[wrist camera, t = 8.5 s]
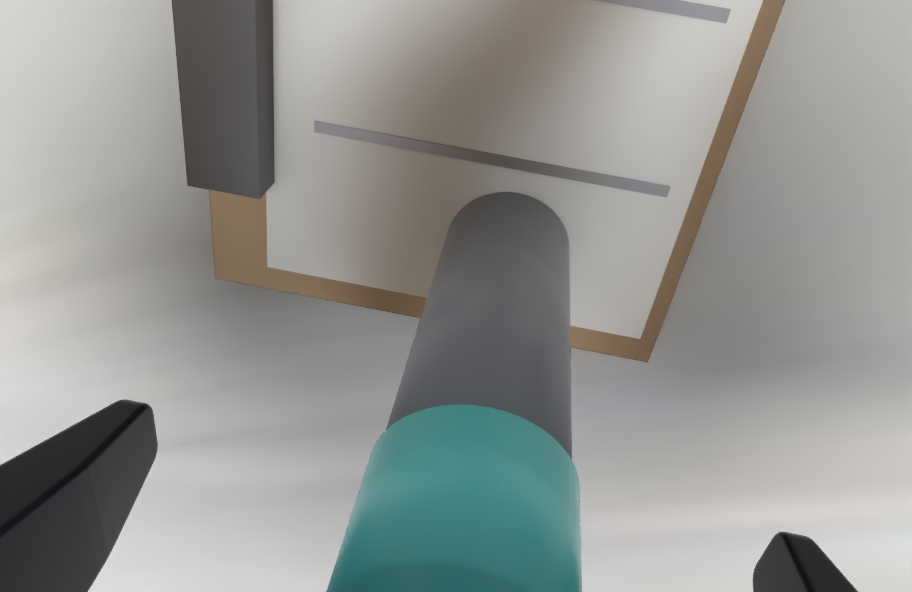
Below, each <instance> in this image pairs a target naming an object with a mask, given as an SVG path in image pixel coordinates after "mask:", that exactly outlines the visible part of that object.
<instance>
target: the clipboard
mask: <svg viewBox="0 0 912 592" xmlns="http://www.w3.org/2000/svg"><path fill="white" fill-rule="evenodd" d="M784 2H785V0H172V9H173V21H174V32H175V44H176V56H177V67H178V79H179V90H180V102H181V114H182V125H183V137H184V148H185V160H186V172H187V183H188V186H193V187H198V188H203V189H209V191H210V205H211V220H212V235H213V250H214V265H215V278H218V279H223V280H228V281H233V282H238V283H243V284H248V285H254V286H259V287H264V288H269V289H274V290H279V291H284V292H289V293H295V294H300V295H305V296H310V297H315V298H320V299H325V300H331V301H336V302H341V303H346V304H351V305H356V306H361V307H366V308H372V309H377V310H382V311H387V312H392V313H397V314H402V315H408V316H413V317H418V318H421V316H422V313H423V310H424V306H425V303H426V300H427V297H428V293H429V290H430V287H431V284H432V281H433V277H434V274H435V271H436V268H437V265H438V261H439V258H440V255H441V252H442V248H443V245H444V242H445V239H446V236H447V232H448V229H449V227H450V224H451V222H452V221H453V219H454V217H455V216H456V215H457V213H458V212H459V211H460V210H461V209H462V208H463V207H464V206H465V205H467V204H468V203H469V202H471V201H473V200H475V199H476V198H479V197H481V196H484V195H487V194H491V193H497V192H515V193H521V194H525V195H528V196H531V197H533V198H536V199H537V200H539V201H541V202H543V203H544V204H546V205H547V206H548V207H550V208H551V209H552V210H553V211H554V212H555V213H556V215H557V216H558V217H559V218H560V220H561V221H562V223H563V225H564V227H565V229H566V231H567V235H568V239H569V263H570V347H572V348H577V349H582V350H587V351H592V352H598V353H603V354H608V355H613V356H618V357H623V358H628V359H633V360H639V361H644V362H648V360H649V358H650V355H651V352H652V350H653V347H654V345H655V342H656V339H657V337H658V334H659V331H660V329H661V326H662V324H663V321H664V318H665V316H666V313H667V310H668V308H669V305H670V302H671V300H672V297H673V295H674V292H675V289H676V287H677V284H678V281H679V279H680V276H681V273H682V271H683V268H684V266H685V263H686V260H687V258H688V255H689V252H690V250H691V247H692V245H693V242H694V239H695V237H696V234H697V231H698V229H699V226H700V223H701V221H702V218H703V216H704V213H705V210H706V208H707V205H708V202H709V200H710V197H711V194H712V192H713V189H714V187H715V184H716V181H717V179H718V176H719V173H720V171H721V168H722V165H723V163H724V160H725V158H726V155H727V152H728V150H729V147H730V144H731V142H732V139H733V137H734V134H735V131H736V129H737V126H738V123H739V121H740V118H741V115H742V113H743V110H744V108H745V105H746V102H747V100H748V97H749V94H750V92H751V89H752V86H753V84H754V81H755V79H756V76H757V73H758V71H759V68H760V65H761V63H762V60H763V58H764V55H765V52H766V50H767V47H768V44H769V42H770V39H771V36H772V34H773V31H774V29H775V26H776V23H777V21H778V18H779V15H780V13H781V10H782V7H783V5H784Z"/></svg>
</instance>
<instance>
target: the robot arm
mask: <svg viewBox="0 0 912 592" xmlns="http://www.w3.org/2000/svg"><path fill="white" fill-rule="evenodd" d="M157 447H158V444H157V436H156V429H155V422H154V415H153V410H152V408H151V407H150V406H149V405H148V404H146V403H141V402H136V401H131V400H120V401H117V402H115V403H113V404H111V405H109V406H107V407H106V408H104V409H102V410H100V411H98V412H96V413H95V414H93V415H91V416H89V417H87V418H86V419H84V420H82V421H80V422H78V423H76V424H75V425H73V426H71V427H69V428H67V429H65V430H64V431H62V432H60V433H58V434H56V435H54V436H53V437H51V438H49V439H47V440H45V441H43V442H42V443H40V444H38V445H36V446H34V447H32V448H31V449H29V450H27V451H25V452H23V453H22V454H20V455H18V456H16V457H14V458H12V459H11V460H9V461H7V462H5V463H3V464H1V465H0V592H88V590H89V589H90V587H91V585H92V584H93V582H94V580H95V579H96V577H97V575H98V574H99V572H100V570H101V569H102V567H103V565H104V564H105V562H106V560H107V558H108V557H109V555H110V553H111V551H112V549H113V547H114V545H115V543H116V541H117V539H118V537H119V534H120V532H121V530H122V528H123V526H124V524H125V522H126V520H127V517H128V515H129V513H130V511H131V509H132V507H133V505H134V503H135V500H136V498H137V496H138V494H139V492H140V490H141V488H142V486H143V483H144V481H145V479H146V477H147V475H148V473H149V471H150V469H151V466H152V464H153V462H154V460H155V457H156V453H157ZM753 591H754V592H858V591H857V590H856V589H855V588H854V587H853V585H852V584H851V583H850V582H849V581H848V580H847V579H846V577H845V576H844V575H843V574H842V573H841V572H840V571H839V569H838V568H837V567H836V566H835V565H834V564H833V562H832V561H831V560H830V559H829V558H828V557H827V556H826V554H825V553H824V552H823V551H822V550H821V549H820V548H819V546H818V545H817V544H816V543H815V542H814V541H813V540H812V539H810V538H808V537H806V536H802V535H797V534H792V533H787V532H779V533H777V534H776V535H775V536H774V537H773V539H772V540H771V542H770V543H769V545H768V547H767V548H766V550H765V551H764V553H763V555H762V556H761V558H760V559H759V561H758V563H757V564H756V567H755V569H754V574H753Z"/></svg>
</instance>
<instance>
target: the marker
mask: <svg viewBox="0 0 912 592" xmlns="http://www.w3.org/2000/svg"><path fill="white" fill-rule="evenodd" d="M327 592H582V578H581V535H580V491H579V480H578V475H577V472H576V469H575V466H574V464H573V462H572V437H571V350H570V263H569V239H568V235H567V231H566V229H565V227H564V225H563V223H562V221H561V220H560V218H559V217H558V216H557V215H556V213H555V212H554V211H553V210H552V209H551V208H550V207H548V206H547V205H546V204H544V203H543V202H541V201H539V200H537V199H536V198H533V197H531V196H528V195H525V194H521V193H515V192H497V193H491V194H487V195H484V196H481V197H479V198H476V199H475V200H473V201H471V202H469V203H468V204H467V205H465V206H464V207H463V208H462V209H461V210H460V211H459V212H458V213H457V215H456V216H455V217H454V219H453V221H452V222H451V224H450V227H449V229H448V232H447V236H446V239H445V242H444V245H443V248H442V252H441V255H440V258H439V261H438V265H437V268H436V271H435V274H434V277H433V281H432V284H431V287H430V290H429V293H428V297H427V300H426V303H425V306H424V310H423V313H422V316H421V319H420V322H419V326H418V329H417V332H416V335H415V338H414V342H413V345H412V348H411V351H410V355H409V358H408V361H407V364H406V367H405V371H404V374H403V377H402V380H401V383H400V387H399V390H398V393H397V396H396V400H395V403H394V406H393V409H392V412H391V416H390V419H389V422H388V425H387V428H386V431H385V432H384V433H383V434H382V435H381V436H380V438H379V439H378V441H377V443H376V444H375V446H374V448H373V451H372V453H371V456H370V459H369V462H368V465H367V468H366V471H365V475H364V478H363V481H362V484H361V487H360V490H359V493H358V496H357V499H356V502H355V505H354V509H353V512H352V515H351V518H350V521H349V524H348V527H347V530H346V533H345V536H344V539H343V543H342V546H341V549H340V552H339V555H338V558H337V561H336V564H335V567H334V570H333V573H332V577H331V580H330V583H329V586H328V589H327Z"/></svg>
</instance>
